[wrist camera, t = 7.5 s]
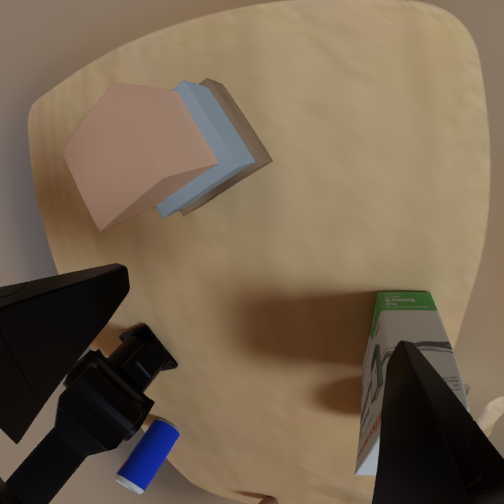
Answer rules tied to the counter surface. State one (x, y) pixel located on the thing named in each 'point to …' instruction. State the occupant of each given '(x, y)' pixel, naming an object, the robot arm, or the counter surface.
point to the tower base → (245, 134)
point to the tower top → (219, 140)
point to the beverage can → (147, 456)
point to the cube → (135, 152)
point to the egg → (268, 501)
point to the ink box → (381, 348)
